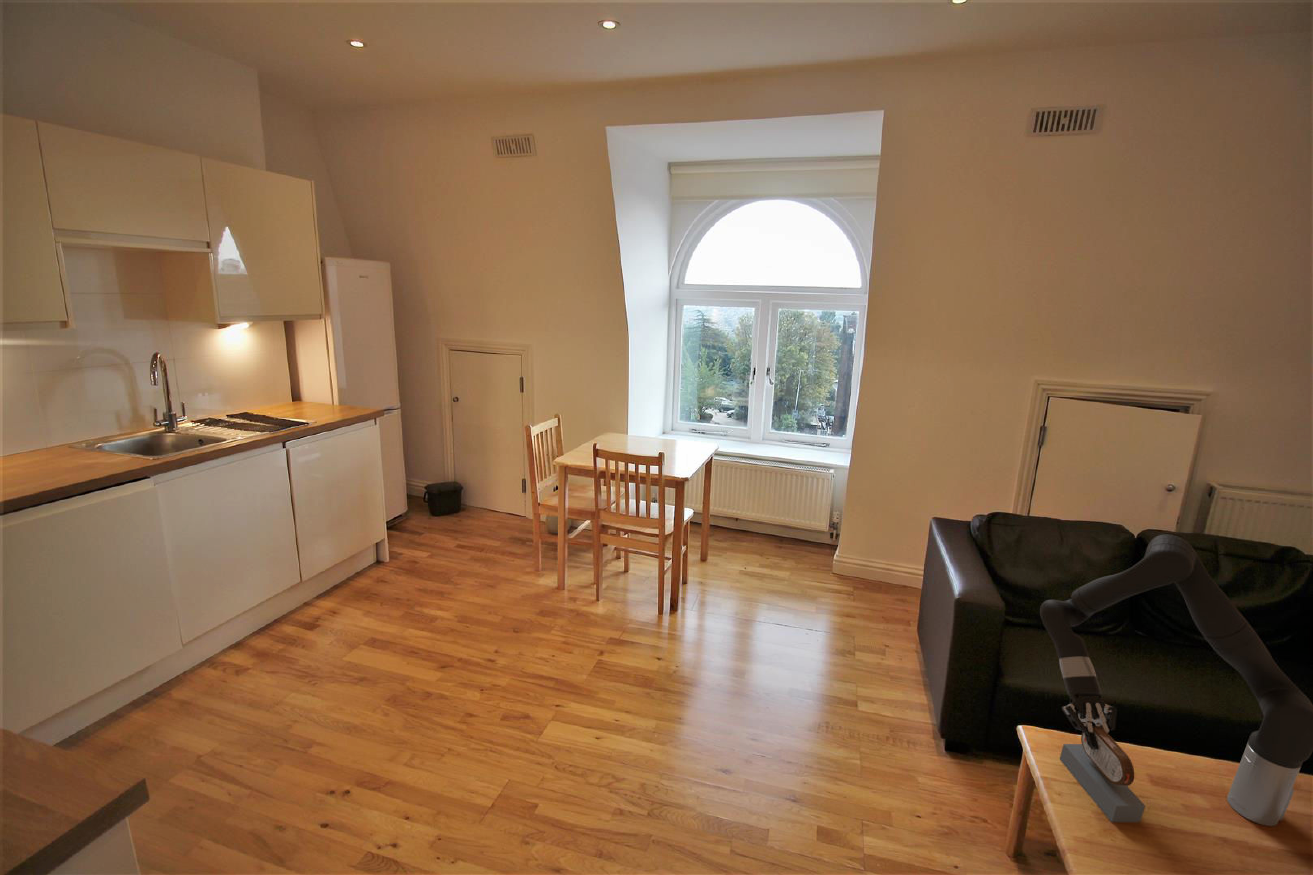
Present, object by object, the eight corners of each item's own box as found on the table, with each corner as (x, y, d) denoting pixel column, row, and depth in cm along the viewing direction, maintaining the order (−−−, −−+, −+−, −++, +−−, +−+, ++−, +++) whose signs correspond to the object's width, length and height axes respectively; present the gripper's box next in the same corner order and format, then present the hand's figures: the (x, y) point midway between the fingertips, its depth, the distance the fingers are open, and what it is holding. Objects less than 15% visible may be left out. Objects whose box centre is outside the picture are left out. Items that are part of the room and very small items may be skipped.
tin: (1128, 793, 146) (1141, 766, 143) (1116, 792, 146) (1128, 765, 143) (1086, 744, 160) (1096, 718, 158) (1074, 743, 160) (1085, 717, 158)
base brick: (1085, 759, 164) (1089, 744, 162) (1140, 822, 146) (1145, 805, 144) (1059, 758, 164) (1063, 743, 162) (1111, 822, 145) (1116, 805, 144)
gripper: (1062, 674, 158) (1083, 748, 150) (1114, 674, 158) (1139, 749, 150) (1045, 677, 165) (1064, 749, 157) (1095, 678, 165) (1117, 749, 157)
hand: (1101, 748), depth 154 cm, fingers closed on tin, 2 cm apart
